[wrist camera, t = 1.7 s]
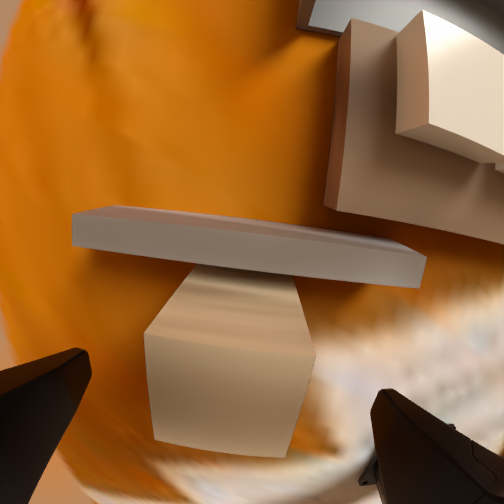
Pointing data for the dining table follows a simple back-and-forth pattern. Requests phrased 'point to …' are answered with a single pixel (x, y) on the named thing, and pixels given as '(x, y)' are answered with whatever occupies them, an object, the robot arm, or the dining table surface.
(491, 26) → the tray
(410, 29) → the tile
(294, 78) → the dining table surface
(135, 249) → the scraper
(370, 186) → the board
